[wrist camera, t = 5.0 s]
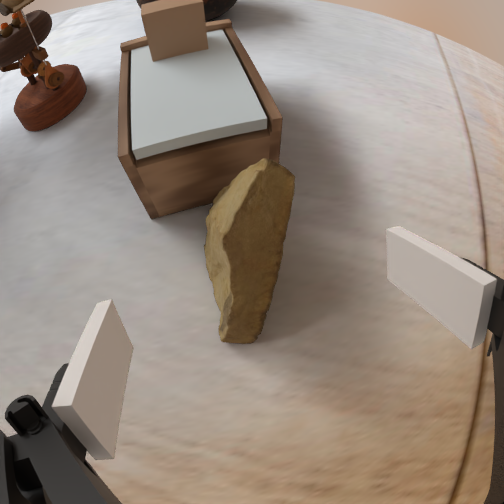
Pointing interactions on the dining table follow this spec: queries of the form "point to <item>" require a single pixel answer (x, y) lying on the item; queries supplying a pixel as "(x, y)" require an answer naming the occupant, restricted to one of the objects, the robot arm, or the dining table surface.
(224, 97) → the lid
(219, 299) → the rock
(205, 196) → the box
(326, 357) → the dining table surface
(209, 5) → the glass bottle
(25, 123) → the wooden bird figurine
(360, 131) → the dining table surface
